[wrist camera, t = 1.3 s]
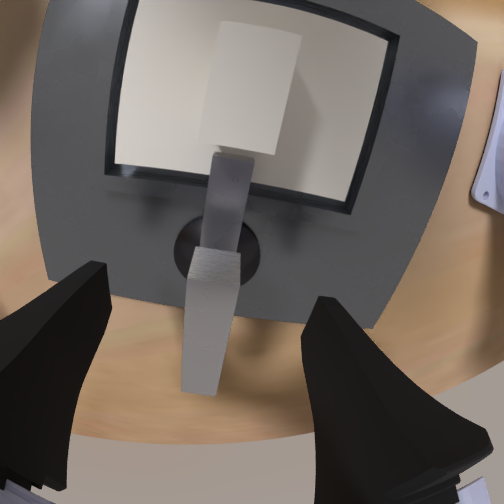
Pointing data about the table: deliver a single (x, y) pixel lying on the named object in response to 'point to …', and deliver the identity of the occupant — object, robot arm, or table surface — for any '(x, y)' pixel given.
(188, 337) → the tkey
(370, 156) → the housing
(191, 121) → the cover
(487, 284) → the table surface
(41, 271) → the table surface
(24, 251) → the table surface
